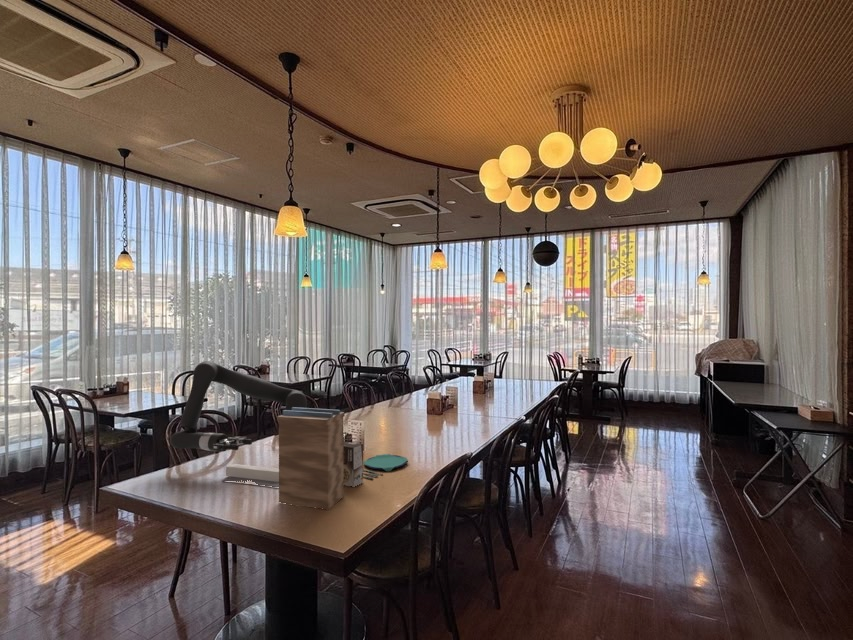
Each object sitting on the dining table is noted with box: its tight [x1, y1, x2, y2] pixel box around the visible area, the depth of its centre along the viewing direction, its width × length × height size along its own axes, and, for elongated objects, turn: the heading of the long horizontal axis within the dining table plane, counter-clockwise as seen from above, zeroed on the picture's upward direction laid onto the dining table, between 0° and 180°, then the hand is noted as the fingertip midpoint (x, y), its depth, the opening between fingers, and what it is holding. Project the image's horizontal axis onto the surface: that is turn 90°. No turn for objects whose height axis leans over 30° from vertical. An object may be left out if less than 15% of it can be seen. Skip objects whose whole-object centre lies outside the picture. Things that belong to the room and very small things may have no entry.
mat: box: [222, 476, 279, 487], centre depth 188 cm, size 14×30×1 cm, turn 74°
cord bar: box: [225, 463, 279, 482], centre depth 190 cm, size 4×26×4 cm, turn 74°
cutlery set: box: [363, 453, 409, 480], centre depth 204 cm, size 20×30×2 cm, turn 147°
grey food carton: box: [343, 441, 364, 488], centre depth 184 cm, size 9×6×16 cm
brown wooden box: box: [276, 407, 346, 510], centre depth 166 cm, size 14×20×34 cm
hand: (244, 444), depth 191 cm, fingers open, 8 cm apart
